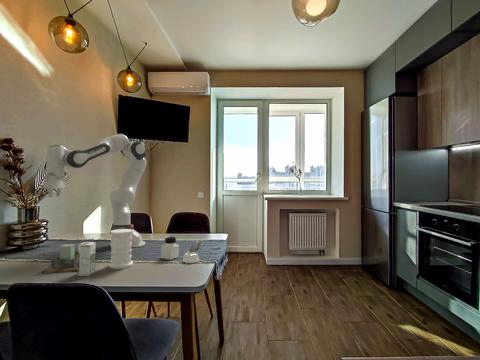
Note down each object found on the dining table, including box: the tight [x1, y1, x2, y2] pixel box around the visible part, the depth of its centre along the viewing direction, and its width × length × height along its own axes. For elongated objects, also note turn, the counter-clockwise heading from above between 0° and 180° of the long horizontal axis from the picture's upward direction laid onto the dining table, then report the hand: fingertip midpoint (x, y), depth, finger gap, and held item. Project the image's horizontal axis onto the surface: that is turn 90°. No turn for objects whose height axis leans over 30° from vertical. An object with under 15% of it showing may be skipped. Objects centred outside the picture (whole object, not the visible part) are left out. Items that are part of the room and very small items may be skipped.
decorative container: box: [108, 229, 134, 270], centre depth 150 cm, size 12×12×18 cm
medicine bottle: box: [160, 235, 180, 261], centre depth 166 cm, size 7×7×12 cm
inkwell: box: [182, 239, 202, 264], centre depth 164 cm, size 9×18×10 cm, turn 165°
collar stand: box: [41, 254, 78, 274], centre depth 146 cm, size 16×16×5 cm
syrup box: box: [76, 241, 97, 277], centre depth 136 cm, size 6×6×14 cm
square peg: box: [59, 243, 76, 259], centre depth 146 cm, size 5×5×10 cm
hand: (54, 196), depth 168 cm, fingers open, 8 cm apart
